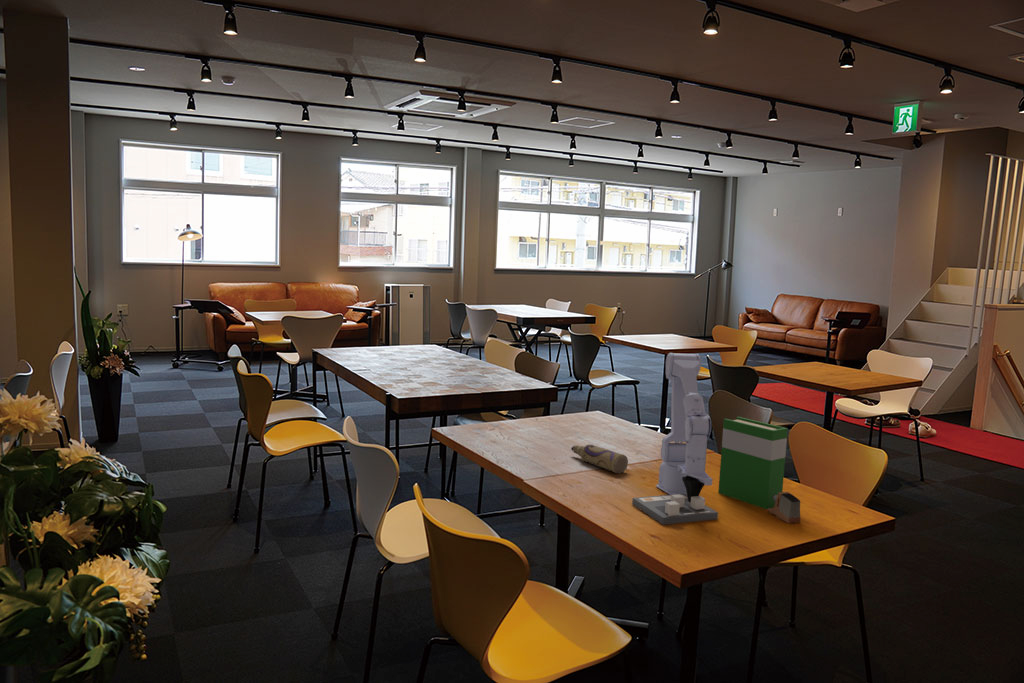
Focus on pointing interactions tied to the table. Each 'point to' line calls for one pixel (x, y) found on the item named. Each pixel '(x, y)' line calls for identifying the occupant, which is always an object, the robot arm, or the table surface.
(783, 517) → the electronic device
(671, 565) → the table surface
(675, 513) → the tab
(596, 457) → the decorative bottle
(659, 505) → the switch board
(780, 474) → the hardback book
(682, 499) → the tab middle
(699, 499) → the tab
